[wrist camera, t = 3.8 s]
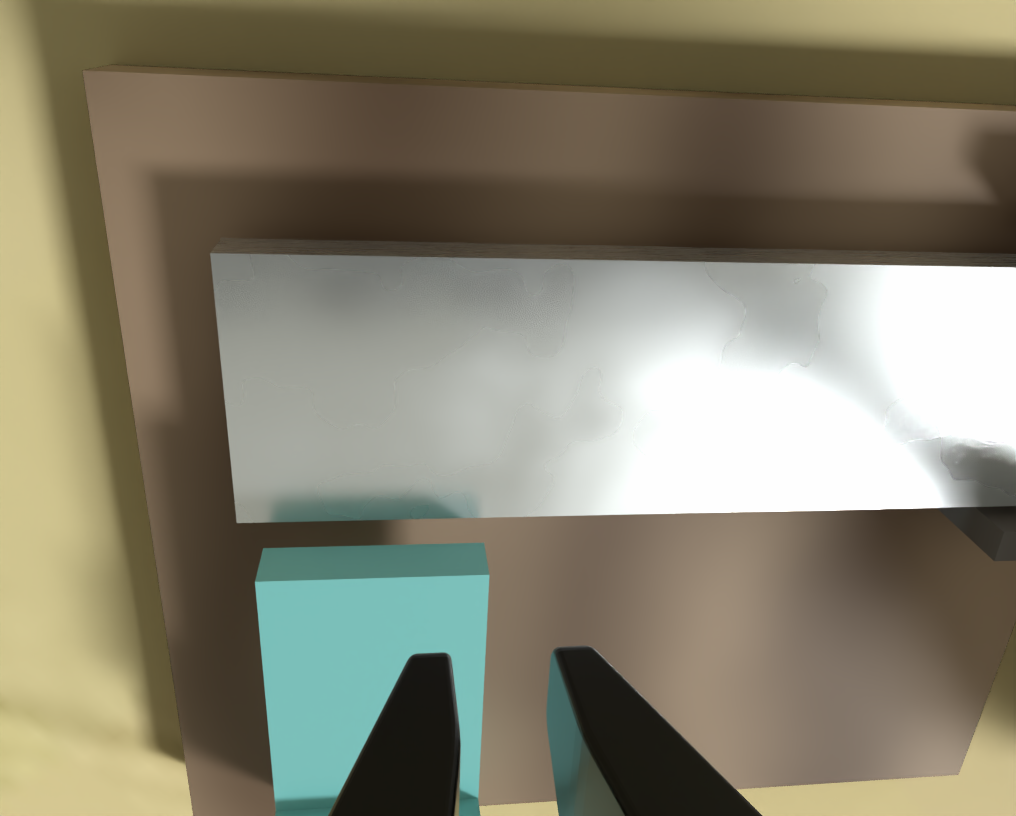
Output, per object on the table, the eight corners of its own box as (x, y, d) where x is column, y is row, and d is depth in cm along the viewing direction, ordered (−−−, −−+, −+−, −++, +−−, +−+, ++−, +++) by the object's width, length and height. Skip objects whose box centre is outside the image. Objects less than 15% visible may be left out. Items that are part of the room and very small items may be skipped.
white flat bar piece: (1107, 254, 17) (1157, 271, 15) (1028, 478, 19) (1066, 507, 18) (222, 236, 14) (209, 255, 13) (246, 492, 16) (235, 526, 15)
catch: (475, 493, 17) (492, 592, 15) (464, 790, 21) (475, 918, 18) (276, 496, 17) (250, 600, 14) (298, 800, 21) (282, 934, 18)
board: (1141, 111, 17) (1306, 133, 14) (927, 732, 25) (1005, 839, 21) (110, 64, 15) (33, 79, 12) (207, 774, 22) (175, 902, 19)
